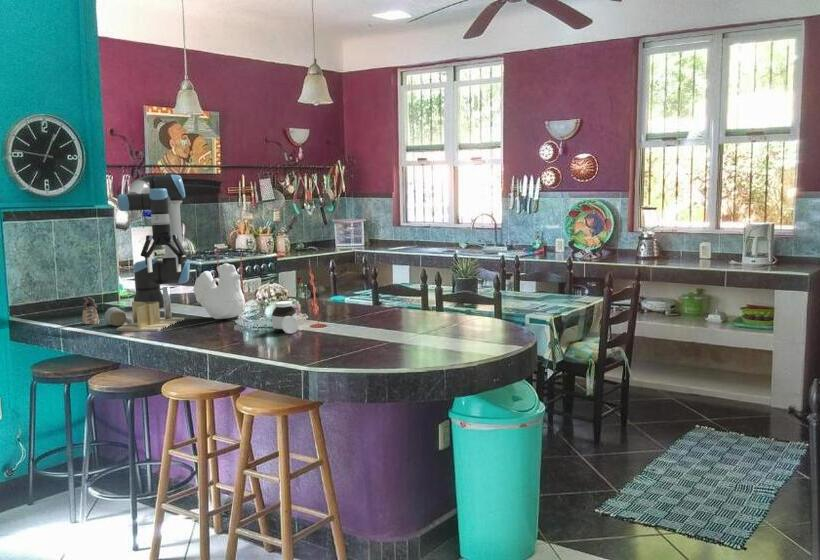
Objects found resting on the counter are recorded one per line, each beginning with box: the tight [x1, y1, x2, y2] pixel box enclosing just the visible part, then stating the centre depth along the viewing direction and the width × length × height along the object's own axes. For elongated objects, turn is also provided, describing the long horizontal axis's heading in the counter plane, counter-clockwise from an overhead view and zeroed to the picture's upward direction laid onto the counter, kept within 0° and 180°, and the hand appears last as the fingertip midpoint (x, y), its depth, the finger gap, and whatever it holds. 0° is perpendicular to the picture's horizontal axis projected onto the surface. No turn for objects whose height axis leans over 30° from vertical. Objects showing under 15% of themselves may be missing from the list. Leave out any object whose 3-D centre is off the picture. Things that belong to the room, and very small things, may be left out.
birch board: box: [115, 317, 185, 332], centre depth 336 cm, size 24×19×1 cm
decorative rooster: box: [192, 263, 246, 320], centre depth 347 cm, size 25×16×25 cm, turn 55°
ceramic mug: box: [104, 306, 134, 327], centre depth 340 cm, size 11×8×8 cm
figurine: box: [81, 296, 101, 326], centre depth 345 cm, size 7×7×12 cm
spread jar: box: [271, 300, 299, 335], centre depth 312 cm, size 12×11×12 cm
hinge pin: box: [162, 286, 173, 319], centre depth 344 cm, size 3×3×14 cm
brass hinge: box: [131, 300, 161, 329], centre depth 332 cm, size 15×14×9 cm
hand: (164, 272), depth 342 cm, fingers open, 13 cm apart
